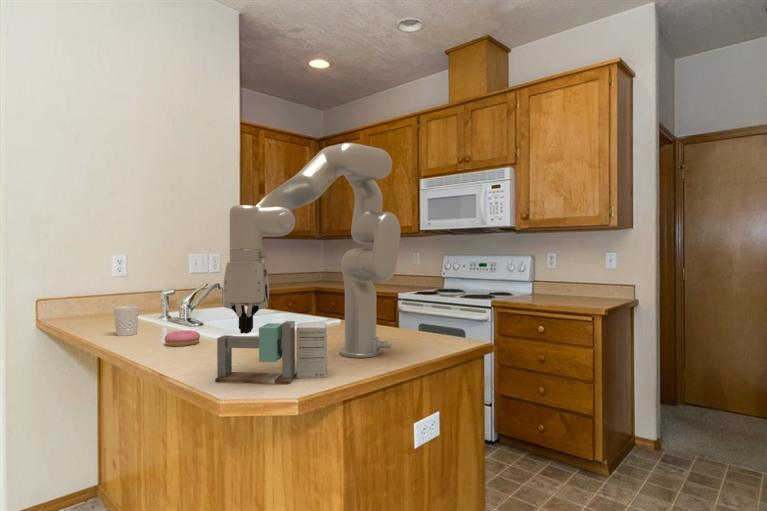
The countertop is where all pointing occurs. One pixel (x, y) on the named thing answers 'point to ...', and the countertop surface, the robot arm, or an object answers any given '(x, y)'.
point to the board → (254, 378)
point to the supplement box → (311, 350)
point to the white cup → (126, 320)
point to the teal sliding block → (269, 342)
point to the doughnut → (182, 338)
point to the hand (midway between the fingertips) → (245, 332)
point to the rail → (283, 343)
